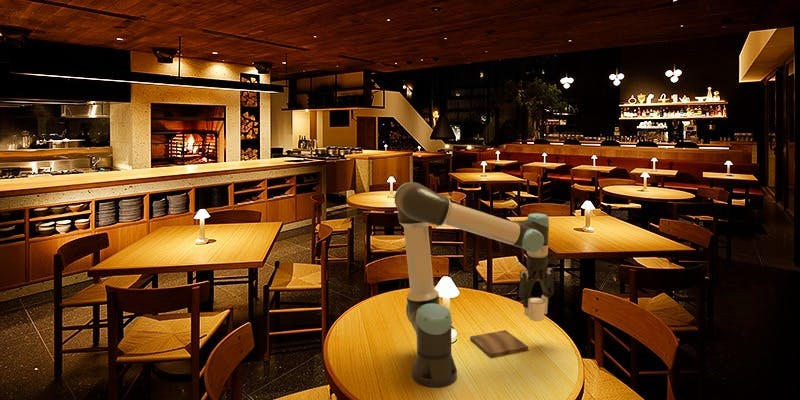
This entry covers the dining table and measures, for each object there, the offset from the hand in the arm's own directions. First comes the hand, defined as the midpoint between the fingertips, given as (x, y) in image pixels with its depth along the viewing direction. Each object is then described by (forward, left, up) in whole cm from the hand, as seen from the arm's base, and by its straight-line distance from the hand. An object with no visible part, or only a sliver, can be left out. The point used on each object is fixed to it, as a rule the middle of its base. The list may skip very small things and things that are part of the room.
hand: (535, 313), depth 177 cm
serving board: (-13, +6, -13) cm, 19 cm away
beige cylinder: (0, 0, -2) cm, 2 cm away
